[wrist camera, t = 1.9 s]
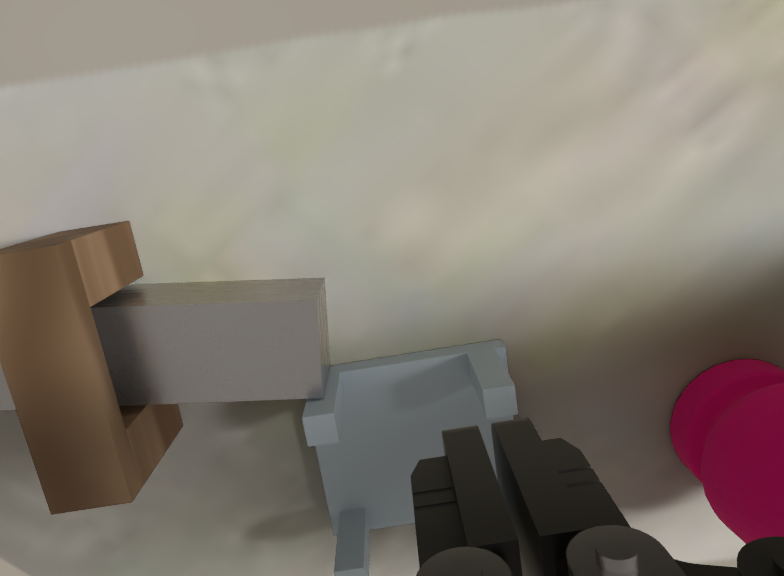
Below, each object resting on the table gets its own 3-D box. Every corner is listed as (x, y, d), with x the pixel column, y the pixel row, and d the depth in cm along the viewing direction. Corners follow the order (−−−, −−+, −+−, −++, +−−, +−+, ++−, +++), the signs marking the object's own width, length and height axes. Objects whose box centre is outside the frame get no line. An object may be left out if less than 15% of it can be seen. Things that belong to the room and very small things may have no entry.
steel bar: (325, 276, 27) (316, 299, 23) (330, 361, 28) (322, 398, 24) (-42, 289, 26) (-114, 315, 22) (-24, 374, 27) (-90, 413, 23)
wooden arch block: (129, 220, 25) (55, 245, 20) (183, 425, 28) (132, 502, 22) (59, 231, 25) (-35, 259, 20) (119, 435, 28) (51, 514, 22)
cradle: (500, 339, 27) (528, 382, 22) (519, 494, 29) (547, 565, 24) (304, 369, 27) (288, 419, 22) (335, 522, 29) (327, 599, 24)
